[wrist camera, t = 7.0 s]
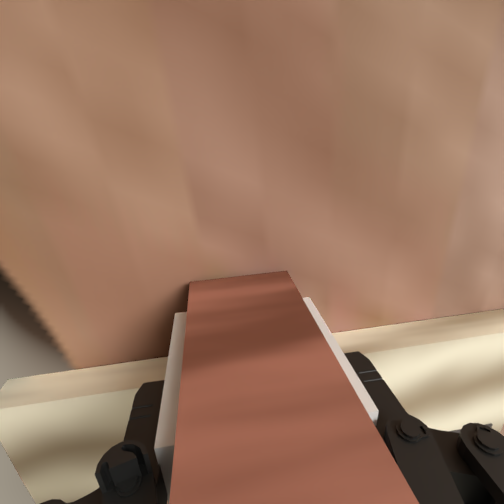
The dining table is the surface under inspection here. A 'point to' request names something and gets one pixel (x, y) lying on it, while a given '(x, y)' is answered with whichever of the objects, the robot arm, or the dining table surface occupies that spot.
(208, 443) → the block
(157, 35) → the dining table surface
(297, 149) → the dining table surface
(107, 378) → the board
